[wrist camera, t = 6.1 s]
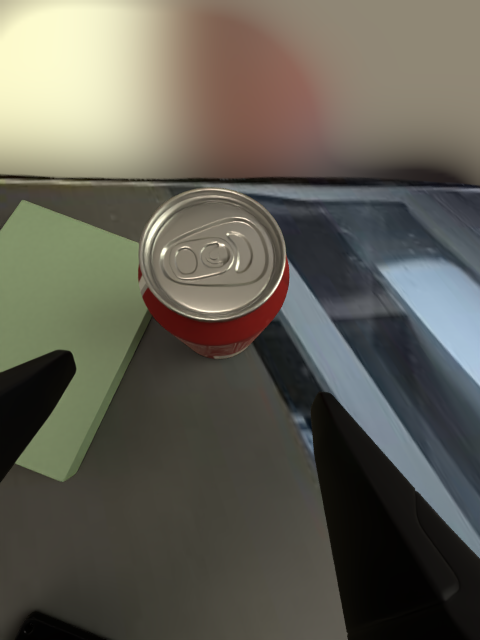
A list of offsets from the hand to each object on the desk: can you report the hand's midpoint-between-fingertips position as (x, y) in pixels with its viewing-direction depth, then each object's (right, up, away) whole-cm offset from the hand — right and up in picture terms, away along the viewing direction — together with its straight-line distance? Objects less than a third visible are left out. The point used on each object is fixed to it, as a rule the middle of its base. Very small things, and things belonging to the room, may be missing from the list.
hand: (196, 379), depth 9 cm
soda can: (0, +2, +12) cm, 12 cm away
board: (-14, +2, +11) cm, 18 cm away
